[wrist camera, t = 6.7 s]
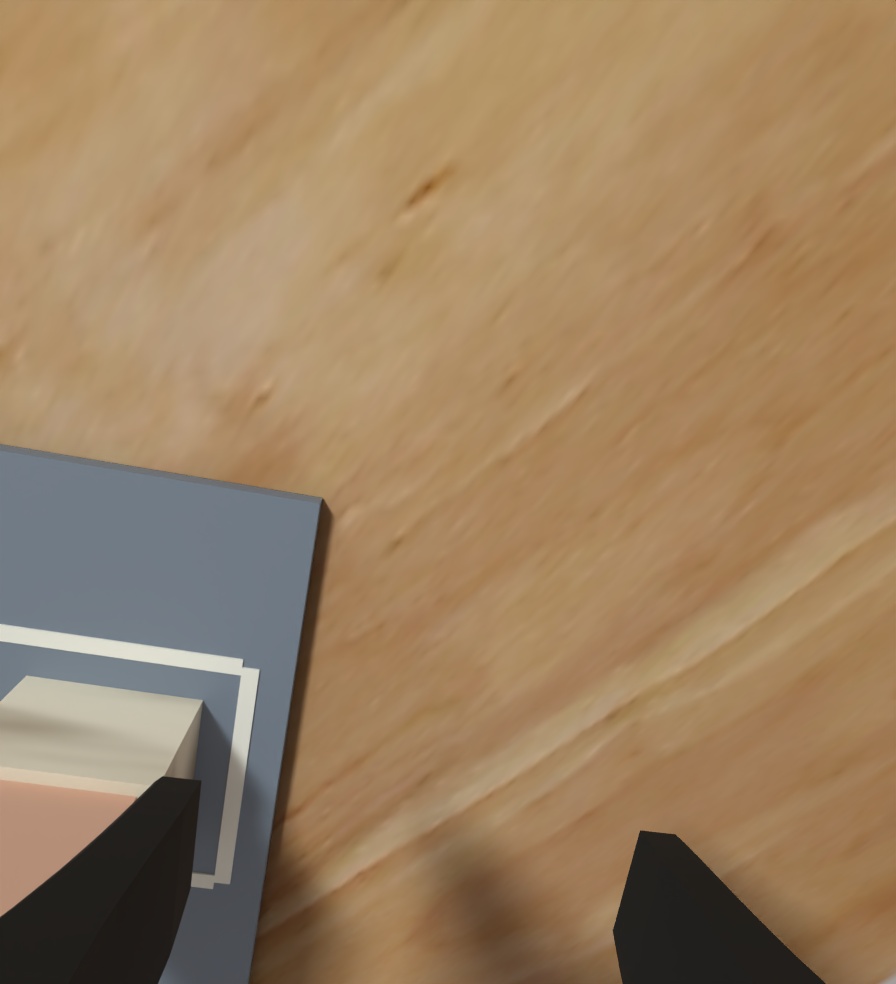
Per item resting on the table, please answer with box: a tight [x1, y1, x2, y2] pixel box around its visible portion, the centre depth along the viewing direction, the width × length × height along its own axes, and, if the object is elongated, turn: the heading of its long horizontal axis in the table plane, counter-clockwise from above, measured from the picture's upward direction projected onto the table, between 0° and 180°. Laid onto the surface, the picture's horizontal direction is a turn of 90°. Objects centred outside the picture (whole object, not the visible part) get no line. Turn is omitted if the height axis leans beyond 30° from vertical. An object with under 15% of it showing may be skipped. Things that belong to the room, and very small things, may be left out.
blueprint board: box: [0, 444, 322, 984], centre depth 23 cm, size 18×10×1 cm, turn 169°
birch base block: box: [0, 676, 203, 800], centre depth 20 cm, size 5×5×4 cm
